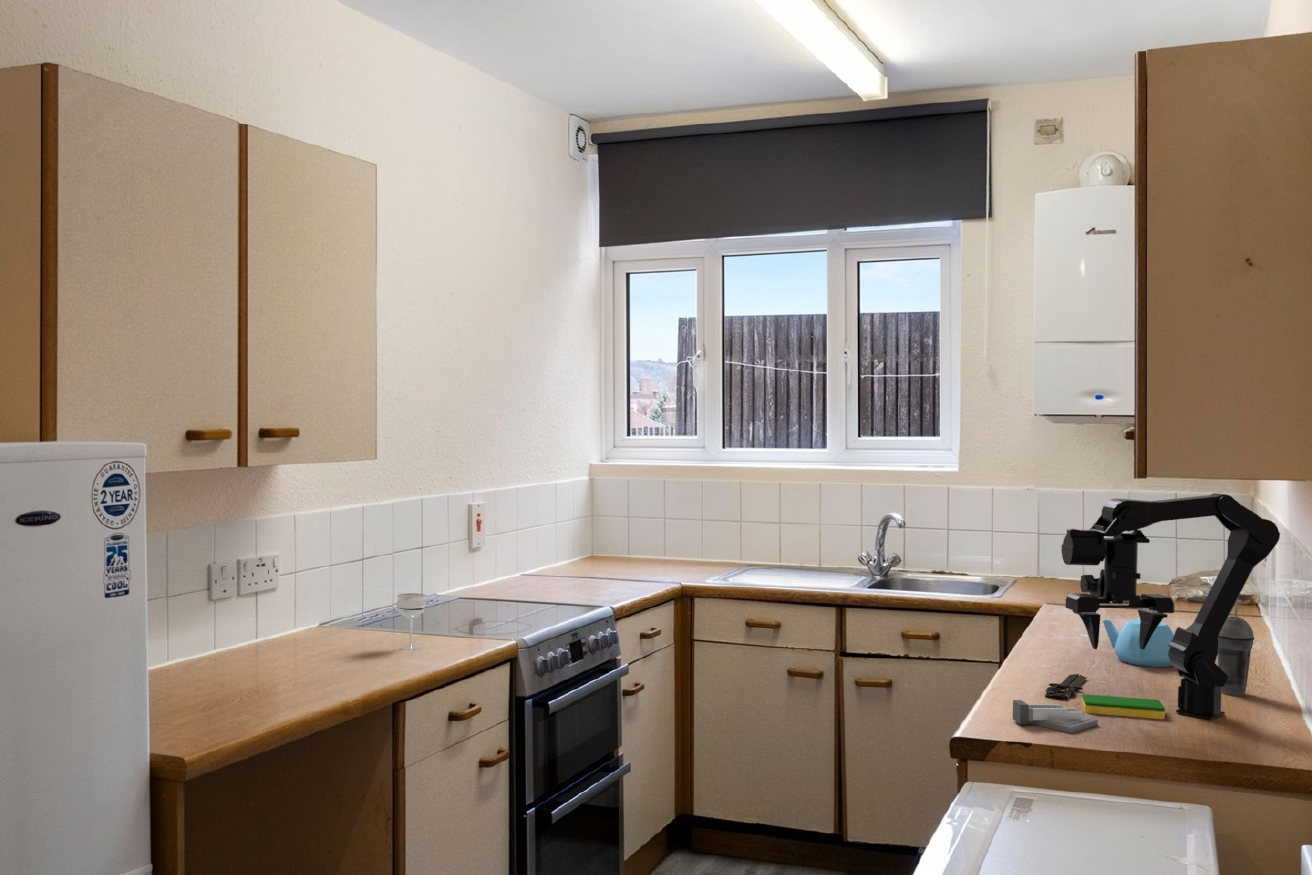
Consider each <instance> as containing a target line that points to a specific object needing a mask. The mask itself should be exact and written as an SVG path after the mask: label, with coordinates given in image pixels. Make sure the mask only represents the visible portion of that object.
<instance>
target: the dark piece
mask: <svg viewBox="0 0 1312 875" xmlns="http://www.w3.org/2000/svg"><path fill="white" fill-rule="evenodd" d="M1086 679H1087V677H1086V676H1084V675H1082V674H1079V673H1073V674H1069V675H1067V677H1065V678H1064V679H1063V680H1062V681H1061V682H1060V683H1057V682H1056V683H1055V682H1054V683H1053V682H1049V684H1048V685H1049V686H1048V687H1047V688H1046V690H1045V693H1046V694H1045V695H1044V698H1045V699H1052V700H1059V701H1068V699H1069V698H1071V699H1073V698H1074V697H1075V695H1076V693H1082V691H1083V687H1082V686H1081V685H1082V684H1083V683H1084V682H1085V681H1086ZM1069 696H1070V697H1069Z"/></svg>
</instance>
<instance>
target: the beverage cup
mask: <svg viewBox="0 0 1312 875" xmlns="http://www.w3.org/2000/svg"><path fill="white" fill-rule="evenodd" d="M1238 608H1239V598H1238V599H1237V601H1236V603H1235V605H1234V614H1233V615H1234V616H1228V618H1227V620H1226V622H1225V624H1224V626H1223V628H1222V630H1221V632H1220V634H1219V651H1218V655H1217V665H1218V667H1219V668H1220V669H1221V670H1222V671H1223V672H1224V673H1225V674H1226V675H1227V676H1228V678H1227V681H1226V683H1225V686H1224V687H1221V694H1224V695H1228V696H1233V697H1236V696H1237V697H1242V696H1245V695H1246V690H1247V687H1248V686H1247V685H1248V678H1249V670H1250V661H1251V653H1252V649H1253V647H1254V646H1253V645H1254V640H1255V637H1254V631H1253V629H1252V627H1251V625H1250V624H1249V622H1247V621H1246V620H1245V619H1244V618H1242V617H1238Z"/></svg>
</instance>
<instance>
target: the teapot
mask: <svg viewBox="0 0 1312 875" xmlns="http://www.w3.org/2000/svg"><path fill="white" fill-rule="evenodd" d="M1102 624H1103V625H1104V629H1105V630H1106V633H1107V636H1108V639H1109V642H1110V643H1111V644H1110V645H1111V647H1112V649H1113V650H1114V653H1115V655H1116V656H1117V658H1118V659H1119V661H1121V662H1123V663H1126V662H1127V664H1129V663H1130V665H1134V664H1135V665H1134V666H1141V667H1151V668H1154V667H1155V668H1168V667H1172V666H1173V665H1172V663H1171V662H1170V659H1169V656H1168V652H1169V649H1170V646H1168V643H1170V642H1171V640H1172V639H1173V637H1174V634H1175V633H1174V632H1173V631H1172V629H1171V627H1170V626H1169V624H1168V623H1166V622H1163V621H1162V620H1161V622H1160V623H1159V625H1158V626H1157V628H1156V629H1155V631H1154V632H1153V634H1152V636H1151V638H1150V640H1149V642H1148V644H1147V645H1146V647H1145V649H1144V650H1142V649H1140V645H1139V635H1140V619H1131V620H1129V621H1128V622H1127V623H1126V624H1125V625H1124V627H1123V628H1122V629H1121V631H1120V632H1118V630H1117V628H1116V627H1115V626H1114V624H1113V622H1112V620H1111V619H1103V620H1102ZM1173 667H1174V666H1173Z"/></svg>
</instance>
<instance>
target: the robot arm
mask: <svg viewBox="0 0 1312 875" xmlns="http://www.w3.org/2000/svg"><path fill="white" fill-rule="evenodd" d="M1205 517H1215V518H1216V519H1217V521H1218V522H1220V524H1221V525H1222V526H1223V527H1224V528H1225V529H1227V530H1228V531H1229V532H1230V533H1229V536H1228V539H1227V555H1226V556H1227V557H1226V559H1225V561H1224V562H1223V564H1222V567H1221V568H1220V570H1219V572H1218V574H1217V577H1216V578H1215V580H1214V582H1213V584H1212V586H1211V588H1210V590H1209V592H1208V594H1207V595H1206V598H1205V600H1204V602H1203V603H1202V605H1201V608H1200V609H1199V611H1198V613H1197V615H1196V616H1195V619H1194V621H1193V622H1192V624H1190V625H1189V626H1188V627H1187V628H1186V629H1185V628H1182V627H1180V626H1177V627H1176V629H1175V630H1174V633H1173V634H1174V637H1173V639H1172V640H1171V642H1170V643H1168V646H1170V649H1169V652H1168V656H1169V659H1170V662H1171V663H1172V665H1173V667H1175V669H1176V672H1177V675H1178V676H1179V677H1181V678H1180V685H1178V687H1177V691H1178V692H1177V709H1175V713H1177V714H1181V715H1186V716H1192V717H1197V718H1201V719H1206V720H1213V719H1215V718H1216V719H1217V718H1219V717H1223V716H1225V714H1226V712H1225V711H1222V693H1221V687H1224V686H1225V683H1226V681H1227V678H1228V676H1227V675H1226V674H1225V673H1224V672H1223V671H1222V670H1221V669H1220V668H1219V667H1218V663H1216V661H1217V659H1218V651H1219V634H1220V632H1221V630H1222V628H1223V626H1224V624H1225V622H1226V620H1227V618H1228V617H1230V615H1231V612H1232V610H1233V608H1234V607H1235V603H1236V601H1237V599H1238V600H1239V597H1240V594H1241V592H1242V590H1243V589H1244V588H1245V585H1246V583H1247V581H1248V579H1249V577H1250V575H1251V573H1252V571H1253V569H1254V568H1255V567H1256V566H1257V565H1258V564H1260V563H1261V562H1262V561H1263V560H1265V559H1266V558H1267V557H1268V556H1269V555H1270V553H1271V552H1272V551H1273V550H1274V548H1276V546H1277V544H1279V541H1280V537H1281V533H1280V531H1279V528H1278V526H1277V524H1276V523H1275V522H1273V521H1272V520H1269V519H1267V518H1262V517H1261V516H1260V515H1259V514H1257V513H1255V512H1254V511H1252V510H1250V508H1247V507H1246V506H1244V505H1243V504H1241V503H1240V502H1238V500H1236V499H1235V498H1234V497H1233V496H1232V495H1229V494H1227V493H1225V494H1224V493H1218V492H1217V493H1216V492H1214V493H1211V494H1208V495H1199V496H1197V495H1196V496H1189V497H1188V496H1187V497H1178V498H1170V499H1162V500H1161V499H1160V500H1141V499H1140V500H1139V499H1131V498H1129V499H1128V498H1111V499H1108V500H1107V501H1106V502H1105V503H1104V505H1103V507H1102V508H1101V514H1100V515H1099V517H1098V518H1097V519H1096V520H1095V522H1094V523H1093V524H1092V525H1091V526H1090V527H1089V529H1076V528H1067V529H1066V534H1065V536H1064V538H1063V541H1062V544H1061V556H1062V560H1063V563H1064V564H1065V565H1067V566H1094V567H1095V566H1096V567H1097V566H1098V565H1100V563H1101V562H1103V565H1104V566H1103V568H1101V569H1100V572H1099V574H1100V575H1099V577H1098V578H1096V577H1094V575H1093V574H1083V575H1081V576H1080V584H1079V585H1080V591H1081V592H1082V593H1079V592H1078V593H1077V592H1076V593H1073V592H1072V593H1068V594H1067V596H1066V598H1065V608H1066V609H1068V610H1071V611H1072V613H1073V614H1076V615H1078V616H1079V617H1080V619H1081V620H1082V622H1083V625H1084V626H1085V629H1086V632H1087V635H1088V638H1089V642H1090V644H1091V647H1092V649H1093V650H1097V649H1098V646H1099V641H1100V627H1101V614H1099V613H1097V612H1098V611H1099V609H1137V613H1138V616H1139V618H1140V619H1139V620H1140V635H1139V645H1140V649H1142V650H1144V649H1145V647H1146V645H1147V644H1148V642H1149V640H1150V638H1151V636H1152V634H1153V632H1154V631H1155V629H1156V628H1157V626H1158V625H1159V623H1160V622H1161V621H1162V620H1163V619H1165V618H1168V614H1175V602H1174V599H1172V597H1169V596H1167V595H1163V594H1160V593H1141V595H1139V594H1137V592H1138V590H1137V587H1138V586H1137V585H1138V583H1137V582H1138V581H1137V580H1141V574H1142V573H1139V572H1138V551H1139V550H1138V545H1139V544H1149V543H1150V542H1151V539H1149V538H1148V537H1147V536H1146V535H1145V534H1144V533H1143V531H1142V530H1141V529H1144V528H1146V527H1150V526H1152V525H1155V524H1157V523H1160V522H1167V521H1175V520H1185V519H1186V520H1187V519H1193V518H1194V519H1196V518H1205ZM1129 532H1130V533H1129Z"/></svg>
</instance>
